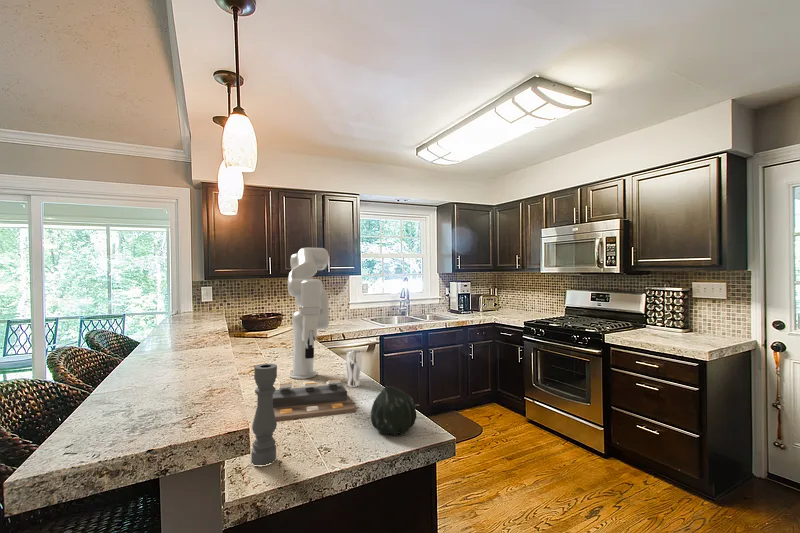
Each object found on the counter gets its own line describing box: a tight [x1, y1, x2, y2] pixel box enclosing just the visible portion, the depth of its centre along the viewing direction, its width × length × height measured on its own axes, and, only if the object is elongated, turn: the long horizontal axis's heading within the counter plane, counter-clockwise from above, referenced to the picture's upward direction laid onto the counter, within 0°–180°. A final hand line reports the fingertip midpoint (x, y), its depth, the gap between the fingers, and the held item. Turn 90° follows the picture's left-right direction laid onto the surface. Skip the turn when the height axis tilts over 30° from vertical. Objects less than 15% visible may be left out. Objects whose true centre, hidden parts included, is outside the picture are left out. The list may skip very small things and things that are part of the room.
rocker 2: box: [302, 381, 318, 388], centre depth 141 cm, size 8×4×1 cm, turn 20°
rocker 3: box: [325, 378, 342, 385], centre depth 145 cm, size 8×4×1 cm, turn 20°
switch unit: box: [273, 383, 357, 422], centre depth 139 cm, size 22×30×6 cm
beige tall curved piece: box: [345, 349, 363, 388], centre depth 165 cm, size 7×7×15 cm
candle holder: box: [250, 363, 278, 465], centre depth 98 cm, size 6×6×25 cm
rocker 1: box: [278, 382, 293, 390], centre depth 138 cm, size 8×4×1 cm, turn 20°
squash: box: [370, 385, 418, 436], centre depth 118 cm, size 14×15×15 cm
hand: (309, 357), depth 145 cm, fingers closed
